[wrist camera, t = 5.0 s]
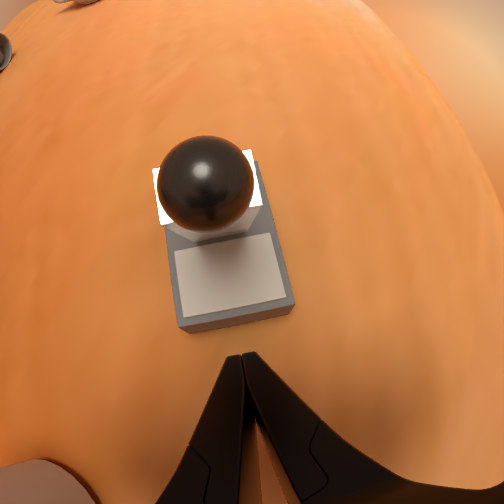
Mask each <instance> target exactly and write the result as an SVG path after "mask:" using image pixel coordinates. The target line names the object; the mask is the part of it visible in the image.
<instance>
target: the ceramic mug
mask: <svg viewBox="0 0 504 504" xmlns="http://www.w3.org/2000/svg"><path fill="white" fill-rule="evenodd" d="M11 56H12V48H11V44H10V41H9V39H8V38H7V37H6V36H5V35H4V34H2V33H0V71H1V70H3V69H4V68H5V67H7V65H8V64H9V62H10V60H11Z"/></svg>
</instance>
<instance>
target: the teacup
mask: <svg viewBox="0 0 504 504" xmlns="http://www.w3.org/2000/svg"><path fill="white" fill-rule="evenodd" d="M53 1H54V2H56V3H65V2H68V1H75V2H78V3H82V4H85V5H86V4H90V3H93V2H96V1H98V0H53Z"/></svg>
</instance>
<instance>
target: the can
mask: <svg viewBox="0 0 504 504" xmlns="http://www.w3.org/2000/svg"><path fill="white" fill-rule="evenodd" d="M0 504H95V502H94V501H93V500H92V498H91V497H90V495H89V494H88V492H87V491H86V489H85V488H84V487H83V486H82V485H81V484H80V483H79V482H78V481H77V480H76V479H75V478H74V477H73V476H72V475H71V474H69V473H68V472H67V471H65V470H64V469H62V468H61V467H60V466H58V465H56V464H53V463H51V462H49V461H47V460H39V459H33V460H29V461H25V462H21V463H18V464H14V465H10V466H6V467H1V468H0Z"/></svg>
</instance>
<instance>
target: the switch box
mask: <svg viewBox="0 0 504 504" xmlns="http://www.w3.org/2000/svg"><path fill="white" fill-rule="evenodd" d="M253 162H254V167H255V172H256V177H257V181H258V186H259V191H260V196H261V200H262V206H261V208H260V210H259V211H258V213H257V215H256V217H255V219H254V220H253V222H252V224H251V226H250V228H249V229H248V231H247V232H244V233H239V234H233V235H228V236H223V237H218V238H213V239H208V240H203V241H198V242H193V241H191V240H189V239H187V238H185V237H183V236H181V235H179V234H178V233H176V232H174V231H172V230H170V229H168V228H166V227H165V231H166V240H167V249H168V258H169V267H170V275H171V282H172V290H173V297H174V304H175V310H176V317H177V323H178V327H179V328H180V329H182V330H184V331H186V332H187V333H189V334H192V333H198V332H203V331H209V330H214V329H219V328H225V327H230V326H235V325H240V324H245V323H250V322H255V321H259V320H264V319H269V318H273V317H278V316H282V315H287V314H289V313H290V311H291V310H292V308H293V307H294V305H295V301H294V297H293V293H292V289H291V285H290V281H289V277H288V273H287V269H286V265H285V262H284V258H283V254H282V250H281V246H280V243H279V239H278V235H277V231H276V228H275V224H274V220H273V216H272V213H271V209H270V205H269V202H268V198H267V195H266V191H265V187H264V184H263V180H262V177H261V173H260V169H259V166H258V162H257V161H253Z"/></svg>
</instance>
